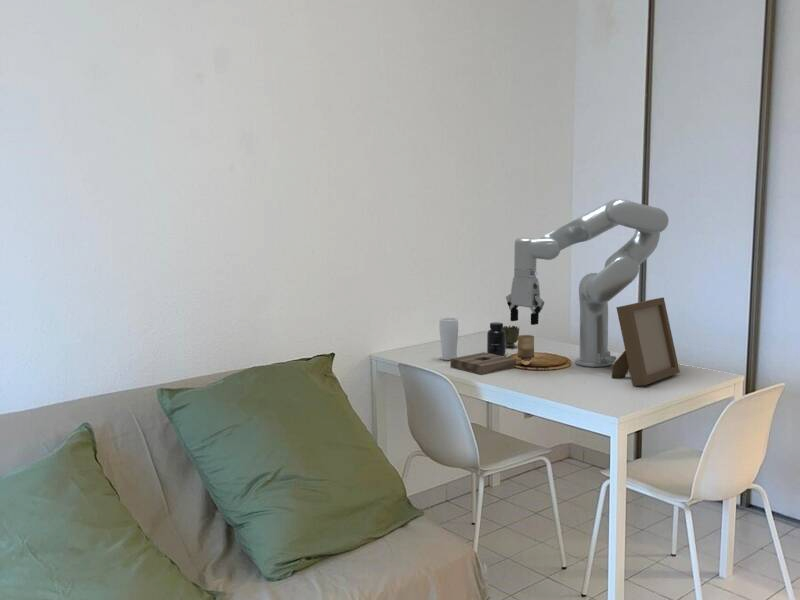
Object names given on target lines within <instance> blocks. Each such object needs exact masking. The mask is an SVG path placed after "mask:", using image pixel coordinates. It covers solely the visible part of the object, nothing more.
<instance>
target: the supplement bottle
mask: <svg viewBox="0 0 800 600" xmlns="http://www.w3.org/2000/svg"><path fill="white" fill-rule="evenodd" d="M503 327H504V323H502V322H499V321H497V322H490V323H489V330H488V331H487V333H486V335H487V336H486V337H487V340H486V342H487V344H486V351H487V352H486V353H490V354H495V355H500V356H504V357H505V355H506V348H507V347H506V333H505V331H504V330H502V329H503Z"/></svg>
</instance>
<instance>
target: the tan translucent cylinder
mask: <svg viewBox="0 0 800 600" xmlns="http://www.w3.org/2000/svg"><path fill="white" fill-rule="evenodd" d="M517 357H518V358H519V359H520V361H521V360H524V361H530V360H531V361H532V359H533V358H535V336H534V335H531V334H520V335H519V336H518V340H517Z"/></svg>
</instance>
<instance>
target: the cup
mask: <svg viewBox="0 0 800 600" xmlns="http://www.w3.org/2000/svg"><path fill="white" fill-rule="evenodd" d="M502 330H504V331H505V333H506V348H509V349H510V348H511V347H512V348H515V346H516V345H515V344H516V343H518V336H520V335H519V334H520V327H518V326H516V325H512V326H511V325H509V326H507V325H503V329H502Z"/></svg>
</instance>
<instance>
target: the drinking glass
mask: <svg viewBox="0 0 800 600" xmlns="http://www.w3.org/2000/svg"><path fill="white" fill-rule="evenodd" d="M458 319H459V318H457V317H442V318H439V336H440V344H441V345H440V346H441V359H442V360H443V361H450V359H451V358H456V357H457V356H458V355H457V352H458V351H457V350H458V339H459V338H458V337H459V320H458Z"/></svg>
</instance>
